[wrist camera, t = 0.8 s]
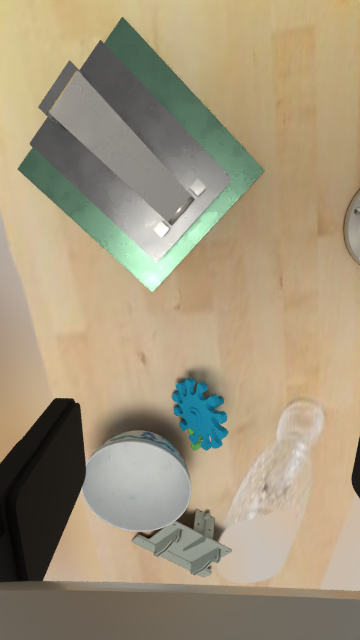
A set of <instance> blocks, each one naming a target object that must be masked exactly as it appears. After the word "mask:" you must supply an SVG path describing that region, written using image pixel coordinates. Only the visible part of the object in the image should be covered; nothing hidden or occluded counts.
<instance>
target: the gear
mask: <svg viewBox="0 0 360 640" xmlns="http://www.w3.org/2000/svg"><path fill="white" fill-rule="evenodd" d="M195 384H196V381H195V380H194V379H193V378H188V379H185V382H181V383H179V384H177V385H176V388H177V390H178V392H176V393H174V394H173V396H172V399H173V400H174V401H175V402H177V403H178V404H179V405H180V406H179V405H178V406H176V407H174V414H175V415H176V416H181V417H183V418H184V419H185V420H184V421H182V422H180V423H179V424H180V427H181V429H182V431H185V430H187V429H188V432H189V434H190V435H189V439H190V440H191V441H192V444H191V447H192V449H193V450H194V451H196V450H197V449H199V448H200V447H202V448H203V449H205V450H208V449H210V448H211V446H212V447H213V448H215V449H216V448H219V447H220V446H222V441H221V440H222V439H223V438H224V437H226V436H227V435H228V431H227V429H226V428H224V427H222V426H221V425H220V424H223V423H224V422H226V421H227V415H226V413H225V412H224V411H217V410H215V408H216V407H218V406H220V405H222V404H223V403H224V399H223V398H222V397H219V398H218V396H217V394H213V395H212V396H210V397H209V398H204V397H203V395H202V393H203V392H205V391H207V390H208V386H207V385H206V384H205V383H204V382H203V381H202V382H200V383H198V384H197V390H196V393H195V392H194V390H193V387H194V386H195ZM186 388H187V392H186ZM218 422H219V423H220V424H219V423H218ZM215 430H216V431H215ZM209 435H210V437H211V442H210V439H209ZM201 440H203V441H201Z"/></svg>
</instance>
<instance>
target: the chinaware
mask: <svg viewBox="0 0 360 640" xmlns="http://www.w3.org/2000/svg"><path fill="white" fill-rule="evenodd" d="M81 490H82V494H83V497H84V499H85V501H86V503H87V505H88V506H89V508H90V509H91V510H92V511H93V512H94V513H95V514H96V515H97V516H98V517H99V518H100V519H102V520H103V521H105V522H106V523H108V524H110V525H112V526H115V527H117V528H120V529H124V530H128V531H136V532H146V531H153V530H157V529H161V528H163V527H166V526H168V525H170V524H172V523H173V522H175V521H176V520H177V519H178V518H179V517H180V516H181V515H182V514H183V513H184V512H185V510H186V508H187V506H188V504H189V502H190V498H191V482H190V477H189V473H188V470H187V467H186V464H185V462H184V460H183V458H182V456H181V455H180V453H179V452H178V450H177V449H176V448H175V447H174V446H173V445H172V444H171V443H170V442H169V441H168V440H166V439H165V438H163V437H162V436H160V435H158V434H155V433H152V432H149V431H142V430H135V431H128V432H124V433H121V434H118V435H116V436H114V437H112V438H111V439H109V440H108V441H106V442H105V443H104V444H102V445H101V446H100V447H99V448H98V449H97V450H96V451H95V452H94V453H93V454H92V456H91V457H90V458H89V460H88V461H87V463H86V477H85V481H84V484H83V486H82V489H81Z"/></svg>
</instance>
